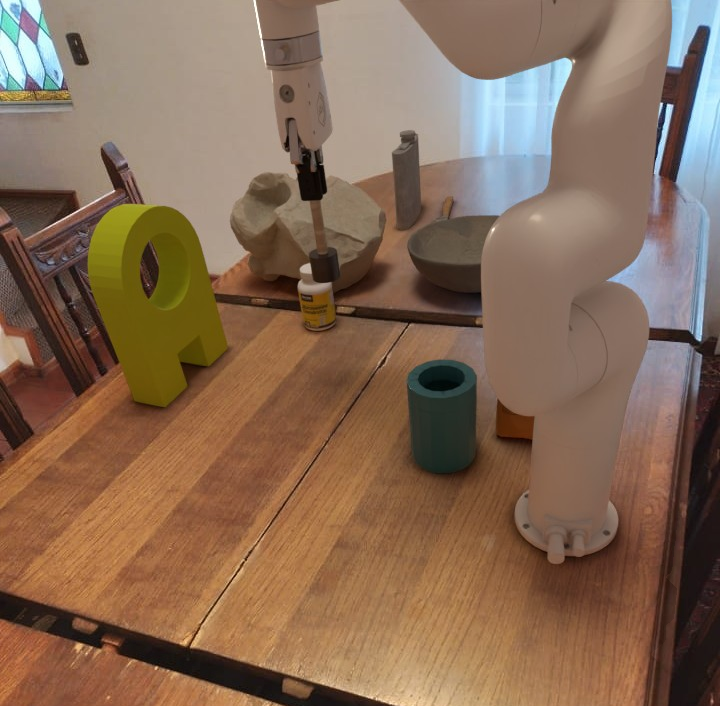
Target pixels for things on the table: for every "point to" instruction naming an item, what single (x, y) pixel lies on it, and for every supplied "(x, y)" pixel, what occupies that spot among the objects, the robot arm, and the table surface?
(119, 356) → the decorative object
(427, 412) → the jar
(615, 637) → the table surface
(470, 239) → the bowl
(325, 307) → the pill bottle
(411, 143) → the hip flask
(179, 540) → the table surface
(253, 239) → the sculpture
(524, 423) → the coffee package
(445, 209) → the knife
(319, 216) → the scrub brush
